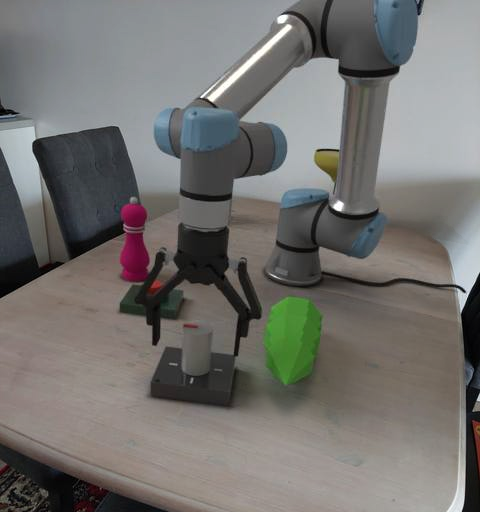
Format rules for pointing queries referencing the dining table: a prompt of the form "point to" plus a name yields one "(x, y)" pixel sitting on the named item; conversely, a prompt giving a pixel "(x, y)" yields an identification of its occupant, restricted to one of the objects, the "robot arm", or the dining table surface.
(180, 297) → the button box
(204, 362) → the knob
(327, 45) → the robot arm
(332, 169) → the cocktail glass
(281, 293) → the dining table surface
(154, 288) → the button
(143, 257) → the pepper mill
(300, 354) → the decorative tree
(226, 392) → the panel
